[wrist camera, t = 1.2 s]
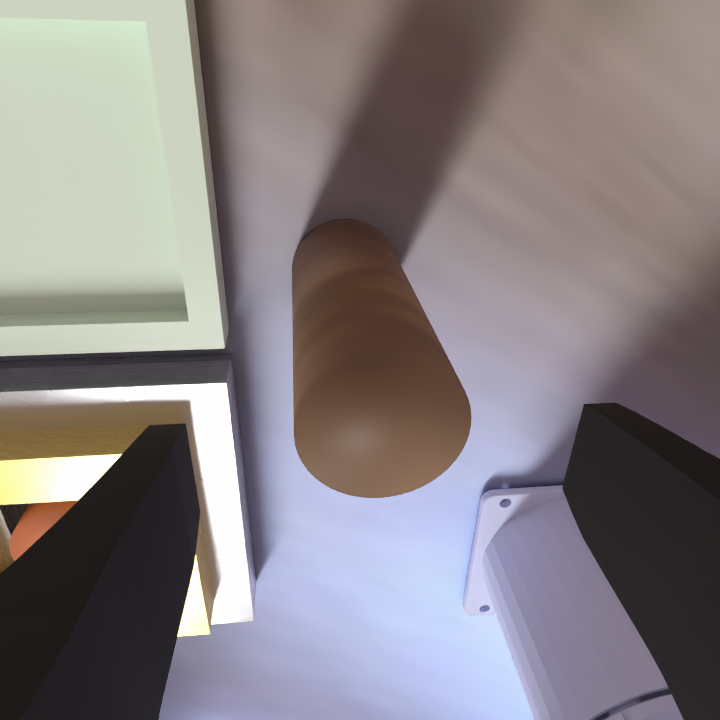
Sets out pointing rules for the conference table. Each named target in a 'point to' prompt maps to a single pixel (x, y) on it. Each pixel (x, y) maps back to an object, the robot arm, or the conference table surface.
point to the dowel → (368, 369)
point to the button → (36, 524)
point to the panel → (151, 406)
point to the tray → (106, 181)
